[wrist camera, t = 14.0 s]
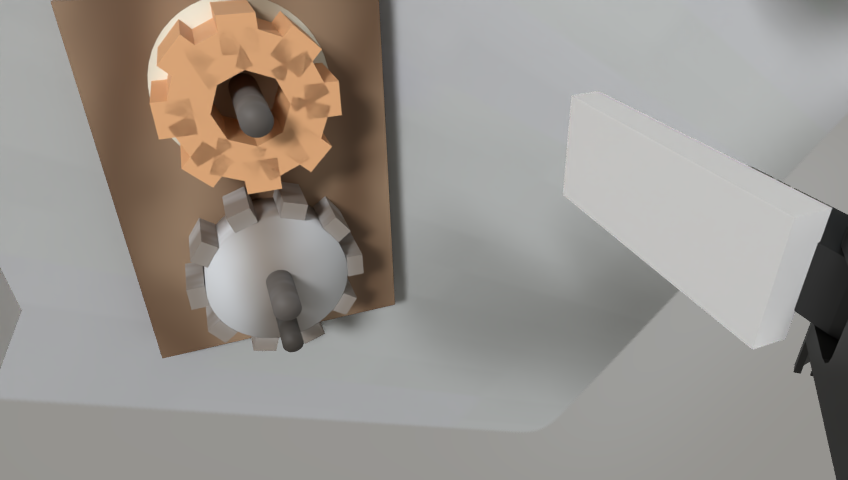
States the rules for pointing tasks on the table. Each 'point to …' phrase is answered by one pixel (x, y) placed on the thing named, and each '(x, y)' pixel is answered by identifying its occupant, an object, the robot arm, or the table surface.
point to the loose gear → (222, 59)
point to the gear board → (228, 200)
